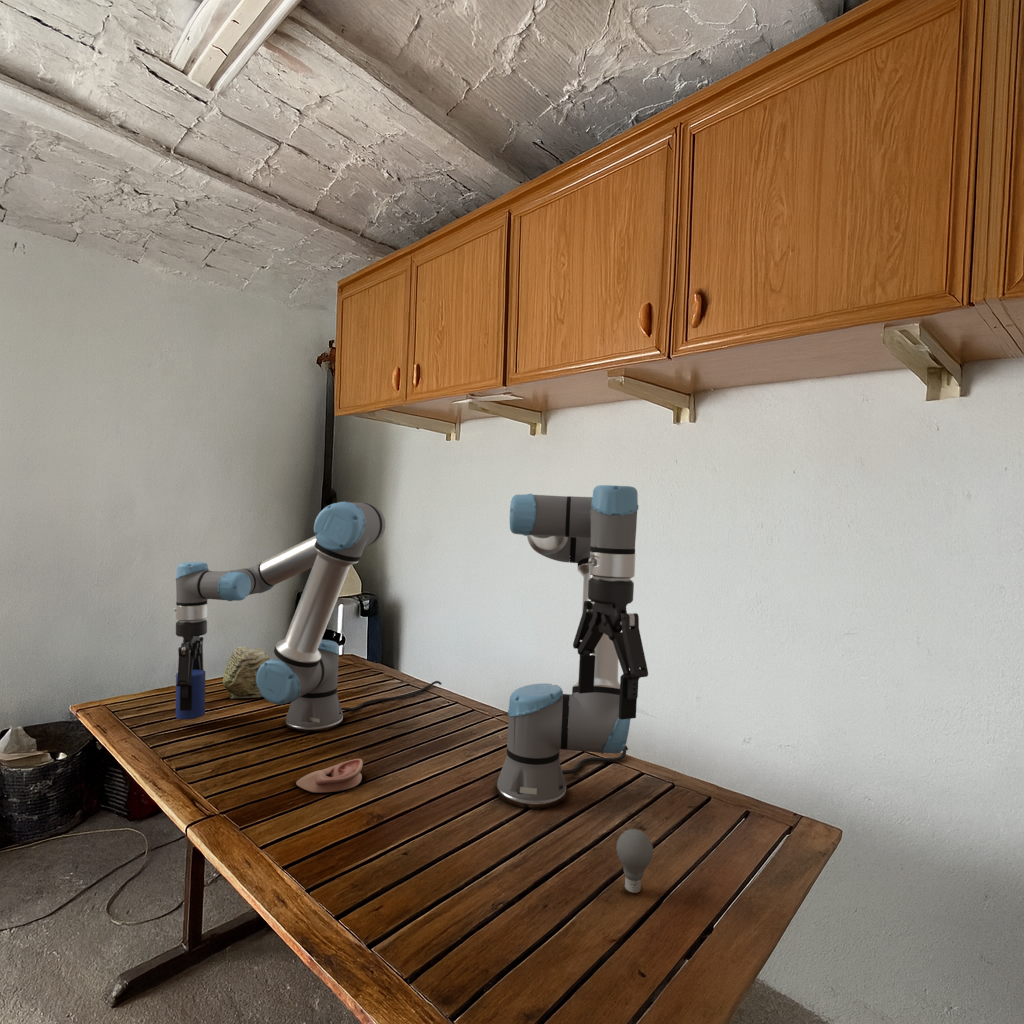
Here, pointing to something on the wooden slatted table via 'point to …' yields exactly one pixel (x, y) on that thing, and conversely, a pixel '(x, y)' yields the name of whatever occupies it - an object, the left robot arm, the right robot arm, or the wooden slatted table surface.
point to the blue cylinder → (193, 697)
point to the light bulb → (634, 857)
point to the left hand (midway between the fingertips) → (190, 705)
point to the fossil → (244, 672)
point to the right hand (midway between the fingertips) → (605, 704)
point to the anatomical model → (333, 777)
